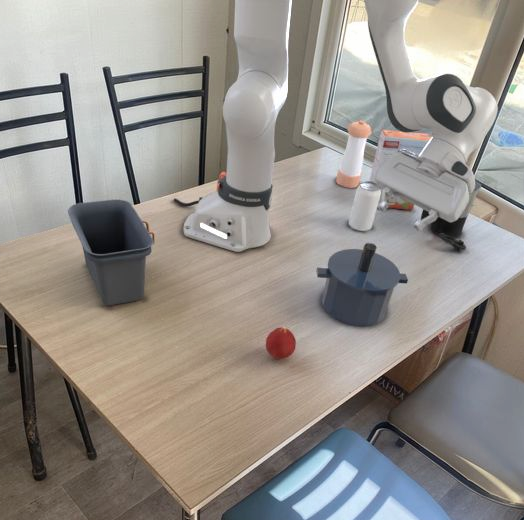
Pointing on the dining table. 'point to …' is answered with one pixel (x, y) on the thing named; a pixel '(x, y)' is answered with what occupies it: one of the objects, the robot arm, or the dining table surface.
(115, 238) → the storage bin
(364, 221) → the can
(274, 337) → the onion
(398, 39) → the robot arm
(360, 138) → the pepper shaker
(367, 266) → the lid
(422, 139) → the cracker box
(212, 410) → the dining table surface
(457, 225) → the milk frother
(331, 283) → the pot
